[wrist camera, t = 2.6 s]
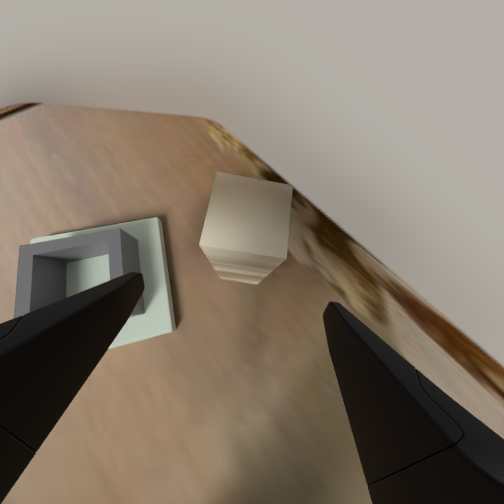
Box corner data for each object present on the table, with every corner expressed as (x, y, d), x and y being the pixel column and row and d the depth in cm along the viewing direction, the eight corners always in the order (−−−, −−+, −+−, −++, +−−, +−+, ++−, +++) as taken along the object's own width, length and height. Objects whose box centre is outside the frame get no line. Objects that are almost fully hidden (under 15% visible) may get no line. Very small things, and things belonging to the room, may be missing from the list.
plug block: (256, 284, 20) (286, 258, 8) (220, 279, 19) (199, 244, 8) (261, 250, 21) (293, 185, 9) (227, 245, 21) (216, 171, 9)
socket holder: (176, 329, 18) (158, 337, 14) (37, 367, 16) (-31, 389, 12) (161, 221, 21) (143, 201, 17) (43, 243, 19) (-10, 226, 15)
